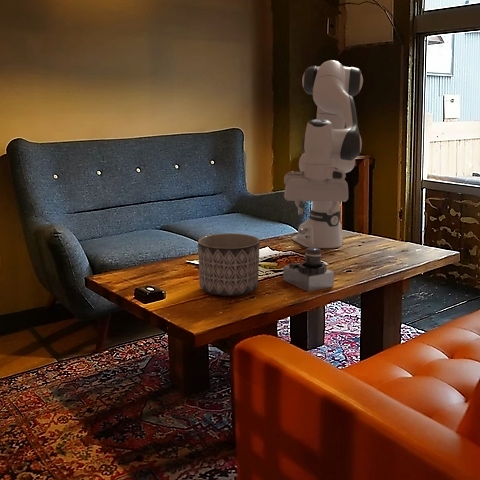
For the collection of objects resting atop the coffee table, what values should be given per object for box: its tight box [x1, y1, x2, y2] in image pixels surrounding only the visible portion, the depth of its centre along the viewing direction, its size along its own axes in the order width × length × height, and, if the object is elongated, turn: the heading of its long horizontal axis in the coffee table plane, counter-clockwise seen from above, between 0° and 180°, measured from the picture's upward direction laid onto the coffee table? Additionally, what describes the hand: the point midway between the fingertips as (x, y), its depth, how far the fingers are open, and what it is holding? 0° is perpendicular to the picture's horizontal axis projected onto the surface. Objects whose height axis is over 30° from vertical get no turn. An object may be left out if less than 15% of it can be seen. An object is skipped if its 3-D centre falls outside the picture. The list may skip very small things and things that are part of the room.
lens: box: [304, 247, 322, 268], centre depth 200 cm, size 5×5×7 cm
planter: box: [197, 232, 261, 297], centre depth 195 cm, size 19×19×16 cm
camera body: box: [282, 261, 335, 293], centre depth 204 cm, size 14×10×7 cm
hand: (315, 214), depth 200 cm, fingers open, 8 cm apart
